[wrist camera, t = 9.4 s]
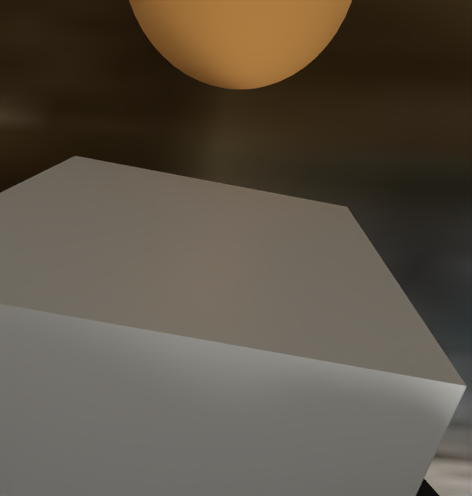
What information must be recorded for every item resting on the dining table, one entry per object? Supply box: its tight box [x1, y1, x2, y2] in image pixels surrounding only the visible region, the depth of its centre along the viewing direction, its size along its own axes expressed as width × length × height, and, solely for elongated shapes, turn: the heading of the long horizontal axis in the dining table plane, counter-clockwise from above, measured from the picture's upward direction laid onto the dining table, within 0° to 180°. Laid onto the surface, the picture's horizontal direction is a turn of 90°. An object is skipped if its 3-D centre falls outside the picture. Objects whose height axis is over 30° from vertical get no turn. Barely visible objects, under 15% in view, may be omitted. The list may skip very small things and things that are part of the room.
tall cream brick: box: [0, 156, 466, 496], centre depth 9 cm, size 9×6×6 cm
